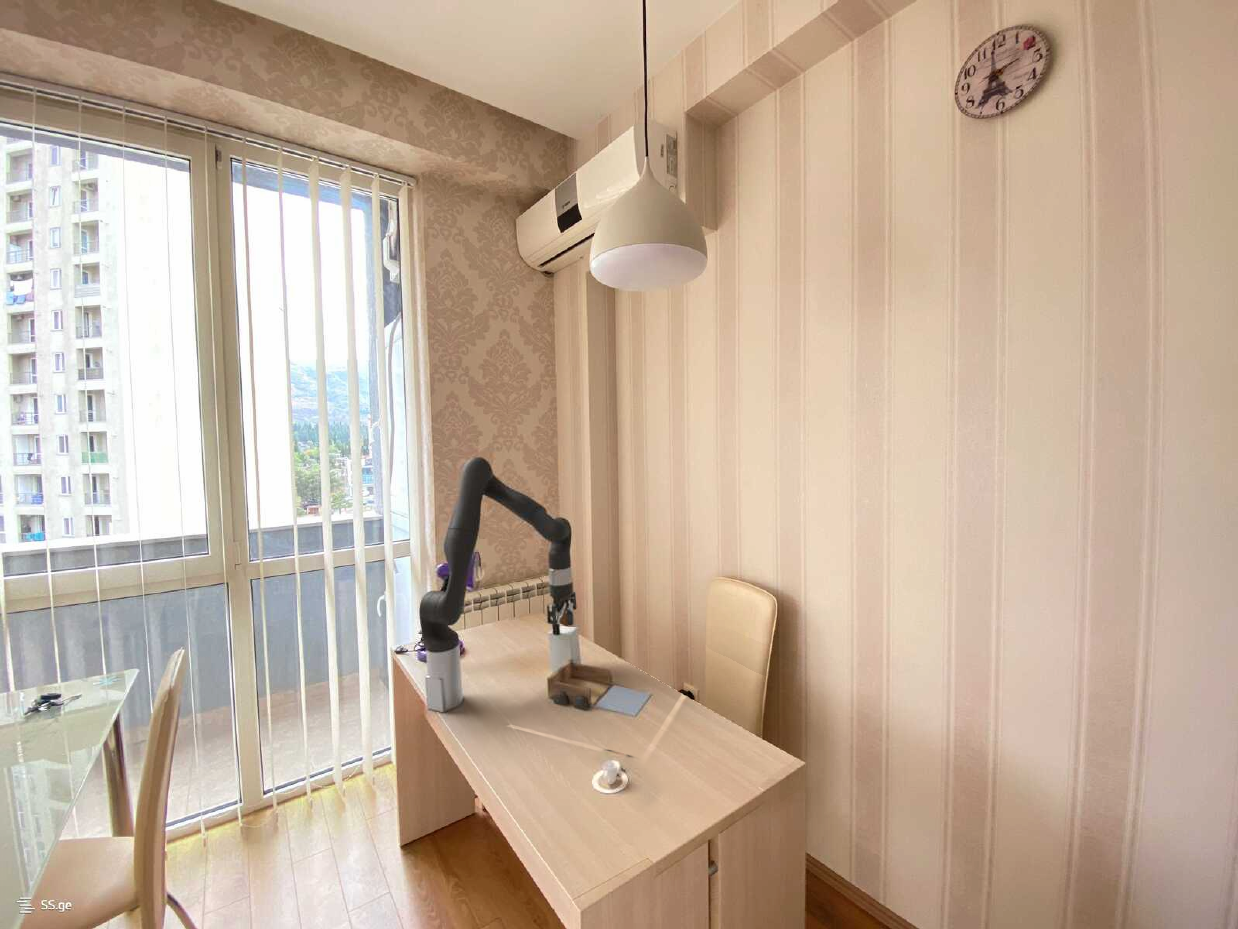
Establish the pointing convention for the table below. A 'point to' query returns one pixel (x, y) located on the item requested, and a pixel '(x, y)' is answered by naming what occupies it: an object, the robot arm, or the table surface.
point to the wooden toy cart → (578, 684)
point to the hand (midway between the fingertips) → (563, 629)
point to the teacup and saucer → (610, 776)
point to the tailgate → (623, 701)
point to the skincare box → (564, 647)
